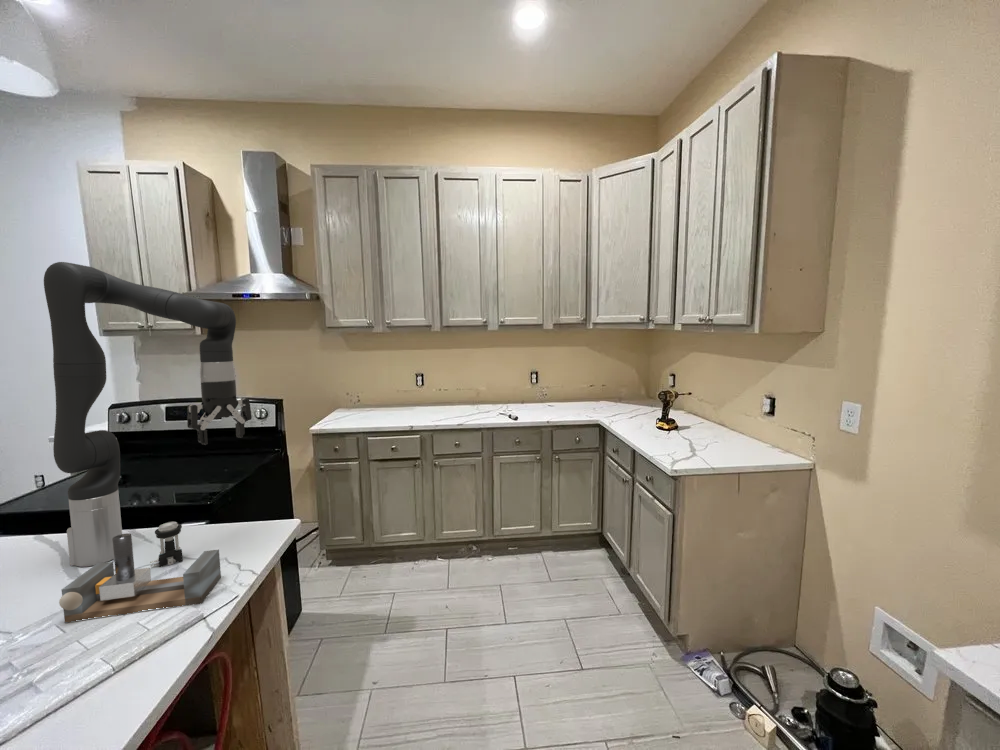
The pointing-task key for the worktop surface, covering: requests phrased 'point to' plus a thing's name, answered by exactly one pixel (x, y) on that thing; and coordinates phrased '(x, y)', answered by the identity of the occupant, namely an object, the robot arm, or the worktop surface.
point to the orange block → (100, 584)
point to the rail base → (156, 594)
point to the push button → (169, 544)
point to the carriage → (124, 572)
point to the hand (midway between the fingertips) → (222, 440)
